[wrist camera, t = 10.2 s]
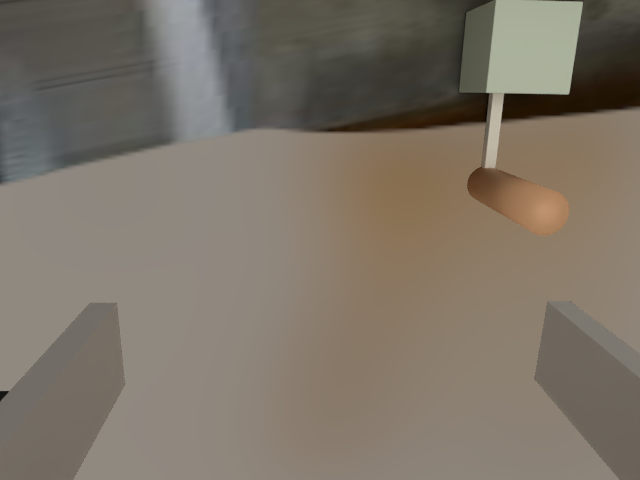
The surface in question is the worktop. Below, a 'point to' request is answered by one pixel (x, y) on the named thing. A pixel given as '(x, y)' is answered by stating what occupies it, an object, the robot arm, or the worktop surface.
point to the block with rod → (523, 78)
